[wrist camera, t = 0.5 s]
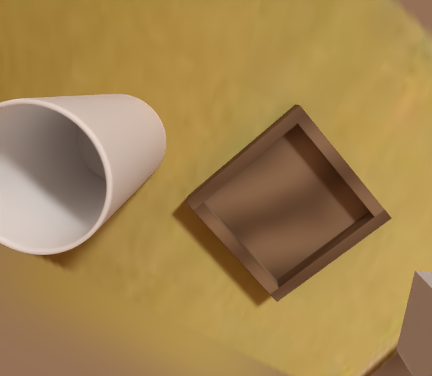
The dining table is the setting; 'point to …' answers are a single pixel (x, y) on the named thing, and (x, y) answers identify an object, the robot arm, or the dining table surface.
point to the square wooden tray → (287, 204)
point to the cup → (71, 166)
